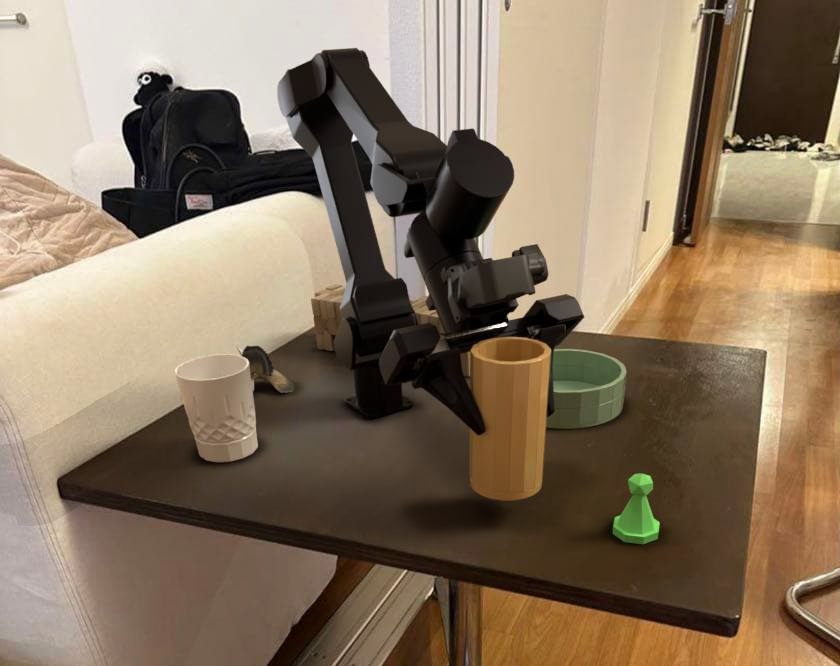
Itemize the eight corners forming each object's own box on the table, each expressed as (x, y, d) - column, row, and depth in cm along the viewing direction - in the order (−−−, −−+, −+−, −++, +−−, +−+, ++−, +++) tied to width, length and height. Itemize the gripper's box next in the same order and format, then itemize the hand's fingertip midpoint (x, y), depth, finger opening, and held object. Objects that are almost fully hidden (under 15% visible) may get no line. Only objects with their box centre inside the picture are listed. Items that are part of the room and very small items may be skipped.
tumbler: (456, 478, 76) (455, 346, 69) (512, 460, 78) (518, 331, 71) (498, 508, 71) (502, 369, 64) (557, 487, 74) (567, 352, 67)
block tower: (310, 353, 119) (477, 379, 105) (301, 297, 115) (474, 316, 100) (343, 337, 125) (506, 360, 110) (335, 283, 120) (504, 299, 105)
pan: (482, 400, 99) (481, 366, 96) (568, 374, 105) (570, 341, 102) (556, 439, 89) (558, 402, 86) (647, 407, 95) (652, 371, 92)
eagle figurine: (211, 394, 102) (272, 385, 99) (209, 339, 102) (269, 329, 99) (244, 404, 109) (301, 396, 106) (242, 353, 110) (299, 344, 106)
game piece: (667, 542, 70) (675, 483, 67) (619, 546, 70) (625, 487, 67) (650, 517, 74) (658, 460, 71) (605, 521, 74) (610, 464, 70)
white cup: (203, 472, 86) (184, 385, 81) (186, 445, 92) (167, 363, 87) (272, 454, 89) (258, 369, 84) (251, 429, 95) (237, 349, 90)
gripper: (382, 230, 62) (454, 410, 59) (578, 199, 68) (650, 360, 66) (352, 306, 72) (413, 462, 69) (525, 273, 78) (586, 414, 76)
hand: (516, 424), depth 70 cm, fingers closed on tumbler, 7 cm apart
